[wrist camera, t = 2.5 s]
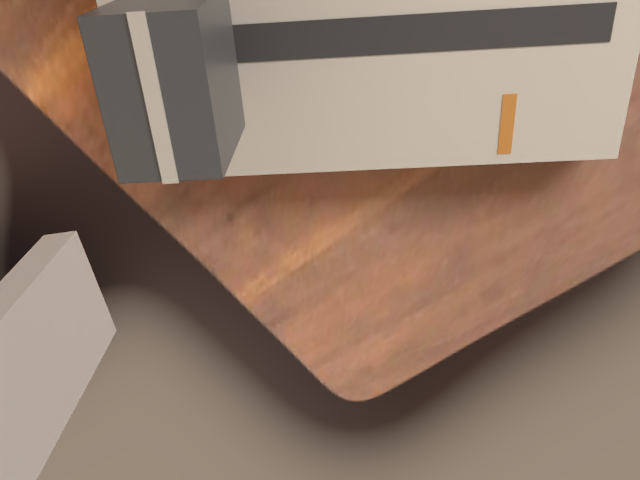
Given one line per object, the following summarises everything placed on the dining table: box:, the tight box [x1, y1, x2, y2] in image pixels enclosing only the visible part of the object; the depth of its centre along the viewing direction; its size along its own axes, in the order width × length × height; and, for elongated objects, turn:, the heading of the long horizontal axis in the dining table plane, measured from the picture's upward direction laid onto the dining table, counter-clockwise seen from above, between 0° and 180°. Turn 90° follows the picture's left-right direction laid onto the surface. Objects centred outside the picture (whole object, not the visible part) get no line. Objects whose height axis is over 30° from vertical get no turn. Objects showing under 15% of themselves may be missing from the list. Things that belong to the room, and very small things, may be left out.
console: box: [96, 0, 640, 176], centre depth 30 cm, size 14×26×3 cm, turn 93°
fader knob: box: [77, 0, 245, 184], centre depth 24 cm, size 6×4×9 cm, turn 4°
